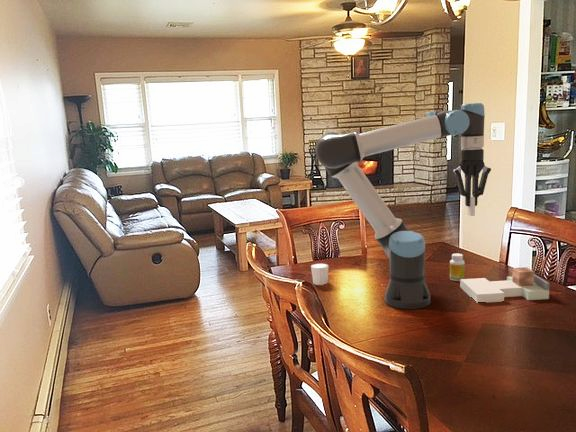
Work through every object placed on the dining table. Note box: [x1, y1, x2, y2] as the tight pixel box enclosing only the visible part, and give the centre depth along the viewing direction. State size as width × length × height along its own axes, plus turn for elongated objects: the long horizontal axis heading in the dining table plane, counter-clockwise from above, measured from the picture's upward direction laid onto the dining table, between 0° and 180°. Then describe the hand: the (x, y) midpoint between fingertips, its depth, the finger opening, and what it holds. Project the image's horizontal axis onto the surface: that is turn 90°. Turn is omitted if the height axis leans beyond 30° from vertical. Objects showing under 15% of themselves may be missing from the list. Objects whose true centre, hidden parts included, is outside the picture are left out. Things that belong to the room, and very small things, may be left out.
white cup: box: [310, 263, 329, 286], centre depth 195 cm, size 7×7×7 cm
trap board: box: [459, 273, 550, 304], centre depth 174 cm, size 24×16×6 cm, turn 91°
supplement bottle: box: [449, 252, 466, 282], centre depth 190 cm, size 5×5×10 cm
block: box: [512, 267, 535, 286], centre depth 173 cm, size 5×5×5 cm
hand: (471, 215), depth 178 cm, fingers closed
